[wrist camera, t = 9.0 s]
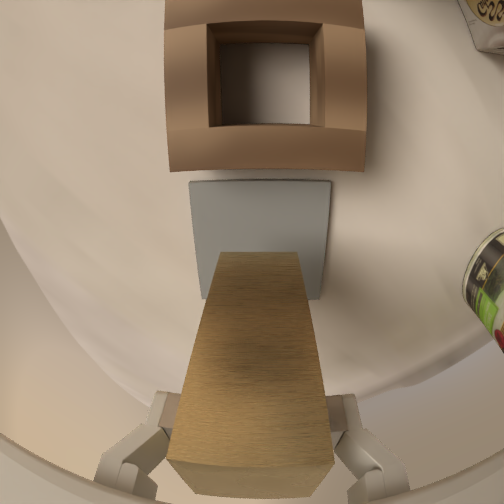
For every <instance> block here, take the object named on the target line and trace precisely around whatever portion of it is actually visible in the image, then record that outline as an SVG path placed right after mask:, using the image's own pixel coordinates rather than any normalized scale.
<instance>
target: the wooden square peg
mask: <svg viewBox="0 0 504 504" xmlns="http://www.w3.org/2000/svg"><path fill="white" fill-rule="evenodd" d="M166 459H167V461H168V462H169V463H170V464H171V466H172V467H173V468H174V469H175V470H176V472H177V473H178V474H179V475H180V476H181V478H182V479H183V480H184V481H185V482H186V484H188V486H189V487H190V488H191V489H192V490H193V492H195V494H201V495H210V496H219V497H231V498H254V499H279V498H300V497H310V496H311V495H312V493H313V492H314V491H315V490H316V488H317V487H318V486H319V484H320V483H321V482H322V480H323V479H324V478H325V476H326V475H327V473H328V472H329V471H330V469H331V468H332V466H333V465H334V464H335V461H334V453H333V445H332V438H331V431H330V424H329V417H328V411H327V404H326V398H325V391H324V385H323V379H322V373H321V368H320V362H319V356H318V351H317V345H316V340H315V335H314V329H313V324H312V319H311V314H310V309H309V304H308V299H307V294H306V289H305V285H304V280H303V275H302V271H301V266H300V262H299V257H298V253H297V252H220V255H219V258H218V262H217V265H216V269H215V272H214V275H213V279H212V282H211V286H210V289H209V293H208V296H207V300H206V303H205V307H204V310H203V314H202V318H201V321H200V325H199V329H198V332H197V336H196V340H195V343H194V347H193V351H192V354H191V358H190V362H189V366H188V370H187V374H186V377H185V381H184V385H183V389H182V393H181V397H180V401H179V405H178V409H177V413H176V417H175V422H174V426H173V430H172V434H171V438H170V443H169V447H168V451H167V456H166Z"/></svg>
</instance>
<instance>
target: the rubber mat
mask: <svg viewBox="0 0 504 504" xmlns="http://www.w3.org/2000/svg"><path fill="white" fill-rule="evenodd" d="M330 190H331V182H330V181H329V180H303V179H233V180H203V181H190V182H189V194H190V205H191V215H192V225H193V234H194V242H195V251H196V259H197V267H198V275H199V282H200V289H201V296H202V299H207V296H208V293H209V289H210V286H211V282H212V279H213V275H214V272H215V269H216V265H217V262H218V258H219V255H220V252H297V253H298V257H299V262H300V266H301V271H302V275H303V280H304V285H305V289H306V294H307V299H308V300H317V299H319V298H320V291H321V283H322V275H323V267H324V258H325V249H326V239H327V228H328V217H329V204H330Z"/></svg>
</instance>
